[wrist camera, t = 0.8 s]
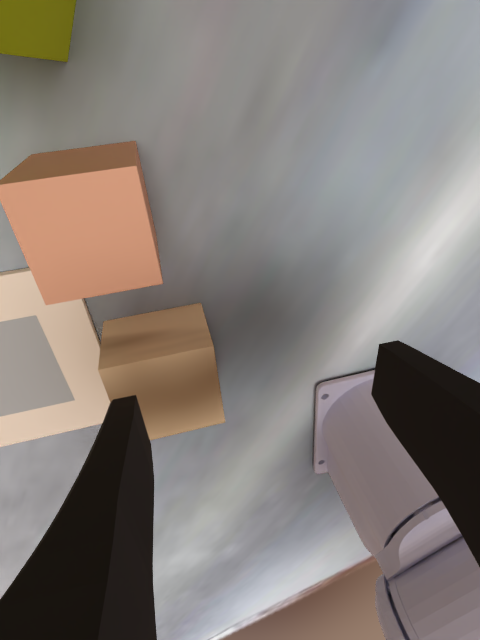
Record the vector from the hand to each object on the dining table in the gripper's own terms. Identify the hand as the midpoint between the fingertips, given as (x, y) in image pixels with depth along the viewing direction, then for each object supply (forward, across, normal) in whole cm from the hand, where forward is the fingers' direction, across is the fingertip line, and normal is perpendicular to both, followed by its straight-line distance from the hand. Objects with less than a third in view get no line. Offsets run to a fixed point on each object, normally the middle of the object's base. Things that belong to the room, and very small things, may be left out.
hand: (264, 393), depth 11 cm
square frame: (+10, +11, +4) cm, 15 cm away
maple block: (+10, +3, +5) cm, 11 cm away
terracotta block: (+10, +4, -4) cm, 11 cm away
